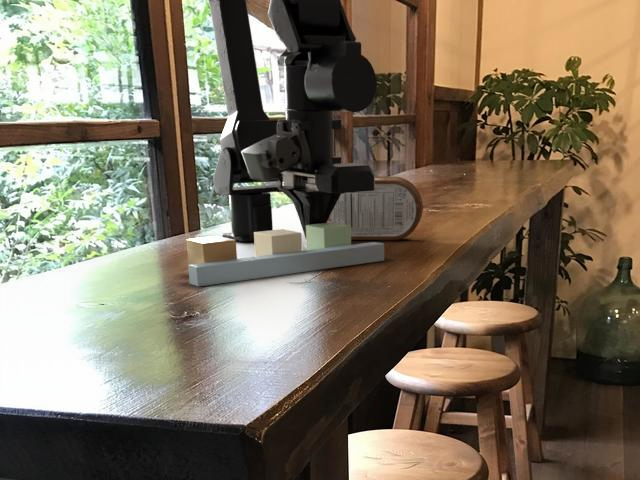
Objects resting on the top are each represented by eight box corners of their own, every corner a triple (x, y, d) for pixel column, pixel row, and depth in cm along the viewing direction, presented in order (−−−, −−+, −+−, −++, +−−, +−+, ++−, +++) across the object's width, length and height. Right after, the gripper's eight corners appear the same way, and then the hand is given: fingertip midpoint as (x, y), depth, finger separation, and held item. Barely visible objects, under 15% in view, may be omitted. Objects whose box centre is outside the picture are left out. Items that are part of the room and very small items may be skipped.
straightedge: (189, 283, 86) (187, 264, 85) (374, 258, 100) (374, 241, 99) (198, 286, 85) (196, 267, 84) (384, 260, 98) (384, 243, 98)
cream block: (255, 267, 95) (253, 232, 93) (284, 263, 97) (283, 229, 95) (273, 272, 92) (271, 235, 90) (302, 268, 94) (301, 232, 93)
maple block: (189, 276, 90) (186, 239, 89) (221, 272, 92) (218, 235, 91) (206, 281, 87) (202, 243, 86) (238, 277, 90) (235, 239, 88)
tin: (422, 238, 115) (423, 175, 111) (421, 241, 112) (422, 177, 108) (317, 237, 116) (315, 175, 113) (314, 241, 113) (312, 177, 110)
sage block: (306, 258, 100) (305, 225, 99) (333, 255, 102) (332, 222, 101) (324, 262, 97) (323, 228, 96) (351, 259, 100) (351, 225, 98)
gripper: (211, 108, 97) (220, 241, 104) (294, 113, 84) (298, 265, 91) (289, 108, 103) (293, 233, 110) (378, 112, 90) (376, 254, 97)
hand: (312, 246), depth 102 cm, fingers closed
